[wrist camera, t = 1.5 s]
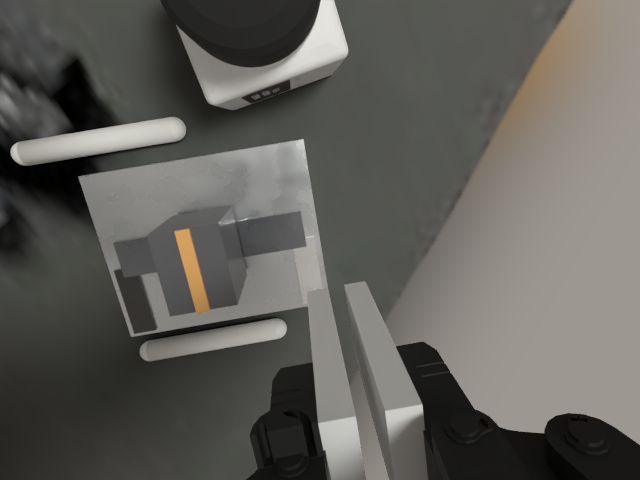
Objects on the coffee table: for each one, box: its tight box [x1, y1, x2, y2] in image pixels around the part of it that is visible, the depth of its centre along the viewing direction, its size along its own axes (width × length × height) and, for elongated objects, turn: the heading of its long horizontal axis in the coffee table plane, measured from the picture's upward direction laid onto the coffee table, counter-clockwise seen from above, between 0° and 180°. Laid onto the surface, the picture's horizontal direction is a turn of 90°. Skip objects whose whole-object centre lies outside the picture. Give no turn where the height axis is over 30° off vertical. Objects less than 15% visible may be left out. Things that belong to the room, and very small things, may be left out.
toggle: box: [146, 206, 247, 317], centre depth 25 cm, size 4×5×5 cm
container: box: [160, 0, 348, 110], centre depth 20 cm, size 8×8×13 cm
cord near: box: [11, 117, 186, 166], centre depth 27 cm, size 12×2×2 cm, turn 99°
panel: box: [79, 138, 328, 337], centre depth 29 cm, size 15×12×2 cm
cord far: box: [140, 318, 287, 361], centre depth 31 cm, size 12×2×2 cm, turn 99°
